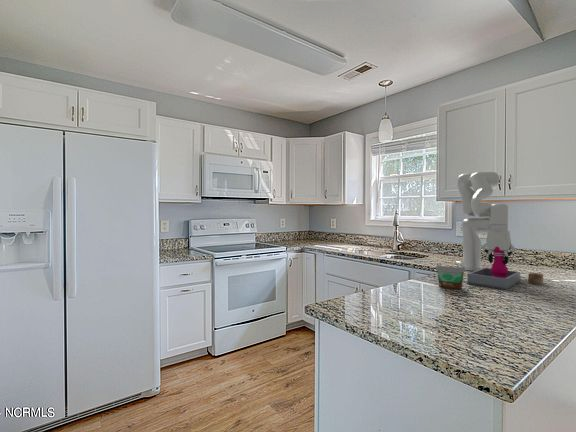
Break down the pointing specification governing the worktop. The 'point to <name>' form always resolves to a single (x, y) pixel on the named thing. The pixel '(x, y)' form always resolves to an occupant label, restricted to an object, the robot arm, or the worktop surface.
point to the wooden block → (535, 278)
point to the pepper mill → (499, 264)
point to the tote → (493, 279)
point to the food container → (450, 277)
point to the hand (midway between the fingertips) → (498, 263)
